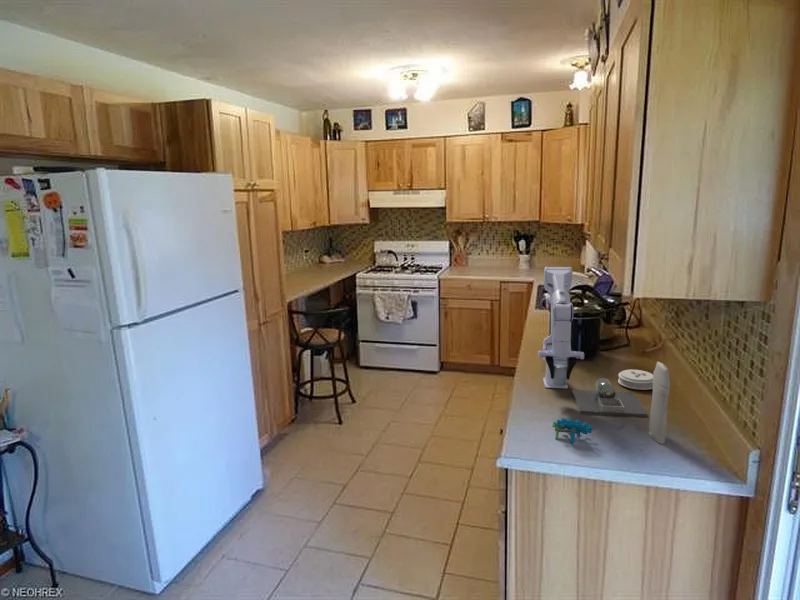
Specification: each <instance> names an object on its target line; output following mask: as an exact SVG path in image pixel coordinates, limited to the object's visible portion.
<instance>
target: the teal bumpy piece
mask: <svg viewBox="0 0 800 600" xmlns="http://www.w3.org/2000/svg"><path fill="white" fill-rule="evenodd" d="M589 424H590V423H589V422H583V423H582V420H581V419H576V421H575V420H574V419H573V418H571V417H569V418H567V419H565V418H564V417H562V418H560V419H557V420H556V421H553V422H552V428H554V431H555V440H558V439H559V433H566V434H570V444H575V438H576V435H581V434H583V435H588V433H589V434H592V431H593V428H594V427H593V426H591V425H589Z"/></svg>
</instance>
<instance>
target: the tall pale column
mask: <svg viewBox="0 0 800 600" xmlns="http://www.w3.org/2000/svg"><path fill="white" fill-rule="evenodd" d="M652 374H653V389H652V397H651V398H652V399H651V405H650V415H649V423H648V424H649V425H648V436H649V438H652V439H654V441H656V442H657V444H660V445H665V443H666V433H667V420H668V418H667V415H668V414H667V412H668V401H669V395H670V390H671V389H670V387H671V380H670V373H669V368H668V366H667V365H666V364H664V363H663V362H660V361H657V362H656V364H655V368H654V371H653V373H652Z"/></svg>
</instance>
